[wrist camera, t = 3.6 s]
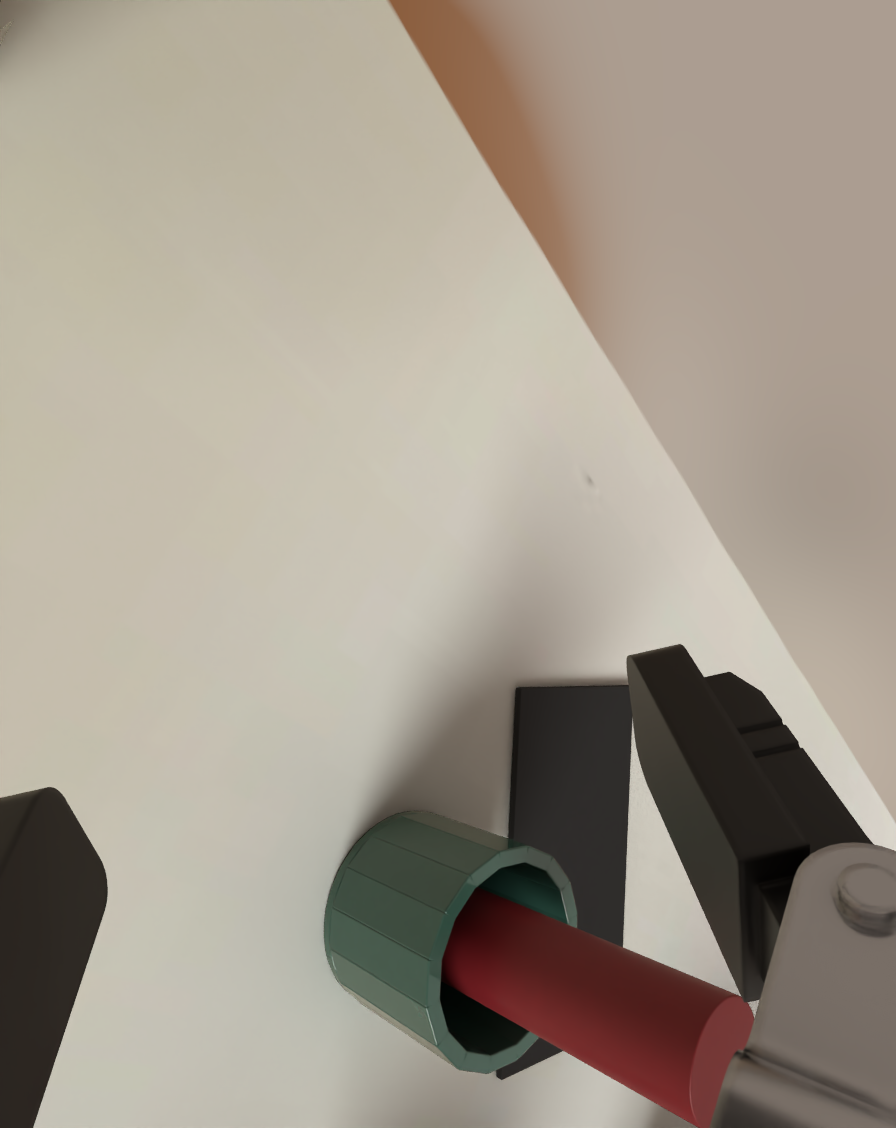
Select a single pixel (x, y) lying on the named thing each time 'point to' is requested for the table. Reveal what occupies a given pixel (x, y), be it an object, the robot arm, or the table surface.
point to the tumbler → (432, 928)
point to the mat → (574, 802)
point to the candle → (599, 1002)
